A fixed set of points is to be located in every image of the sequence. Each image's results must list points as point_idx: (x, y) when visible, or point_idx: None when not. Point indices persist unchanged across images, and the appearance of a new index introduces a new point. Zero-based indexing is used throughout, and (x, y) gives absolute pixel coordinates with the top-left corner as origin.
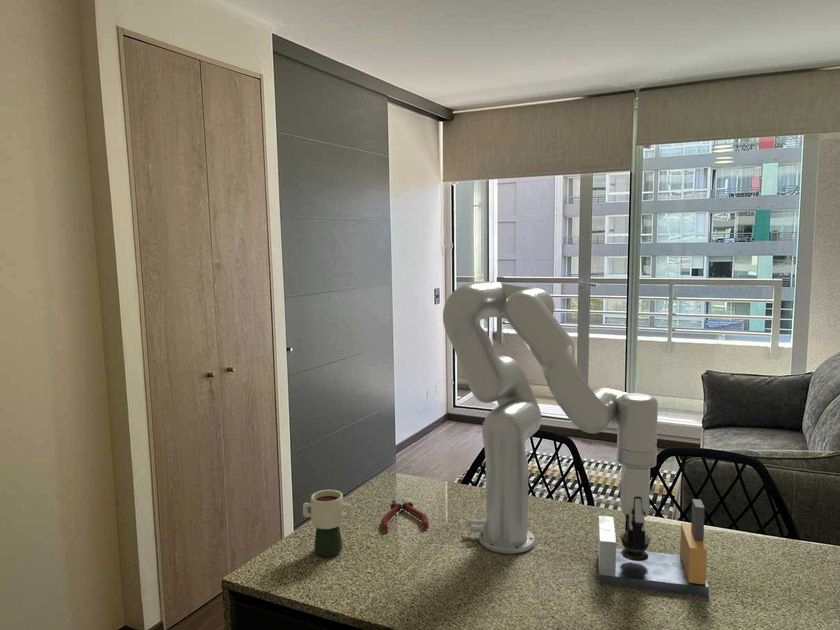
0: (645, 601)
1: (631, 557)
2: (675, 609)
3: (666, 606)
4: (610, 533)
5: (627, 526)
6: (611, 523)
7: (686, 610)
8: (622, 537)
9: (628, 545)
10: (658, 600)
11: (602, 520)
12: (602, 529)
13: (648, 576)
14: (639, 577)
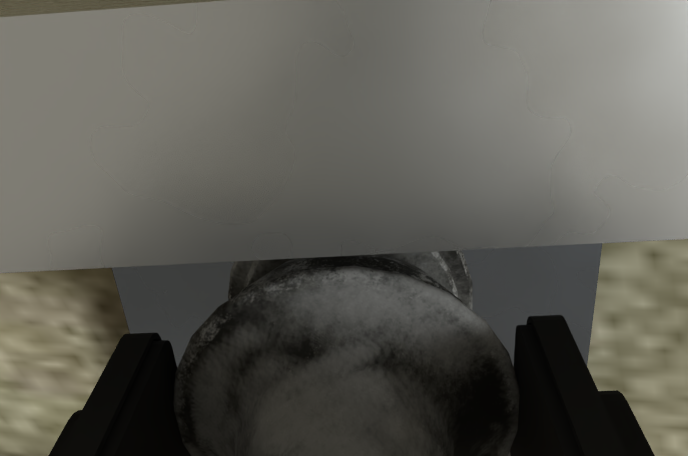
0: (5, 273)
1: (243, 284)
2: (10, 407)
3: (15, 371)
4: (118, 200)
5: (540, 394)
6: (535, 209)
7: (31, 450)
8: (293, 302)
9: (118, 354)
10: (58, 339)
11: (655, 45)
12: (222, 61)
13: (187, 337)
14: (140, 283)
